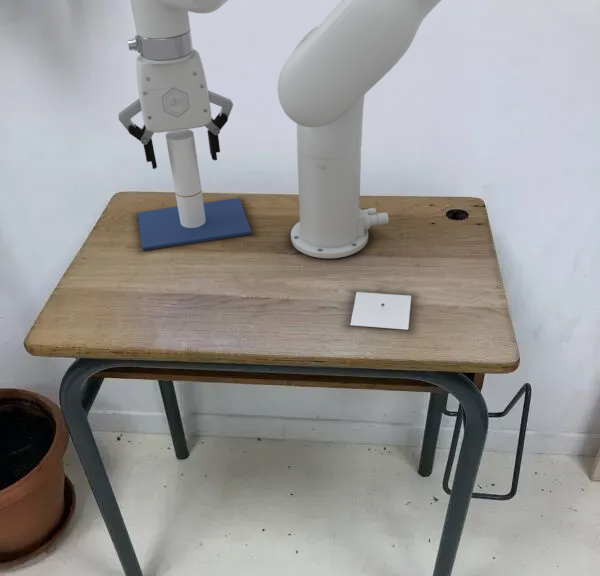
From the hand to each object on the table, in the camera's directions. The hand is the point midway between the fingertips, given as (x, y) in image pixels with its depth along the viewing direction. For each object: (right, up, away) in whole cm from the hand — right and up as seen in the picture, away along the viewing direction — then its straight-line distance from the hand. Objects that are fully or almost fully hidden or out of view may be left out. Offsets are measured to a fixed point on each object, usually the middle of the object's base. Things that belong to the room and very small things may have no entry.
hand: (184, 160), depth 110 cm
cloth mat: (0, -8, +8) cm, 11 cm away
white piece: (+30, -25, -11) cm, 41 cm away
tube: (0, -8, +8) cm, 11 cm away
